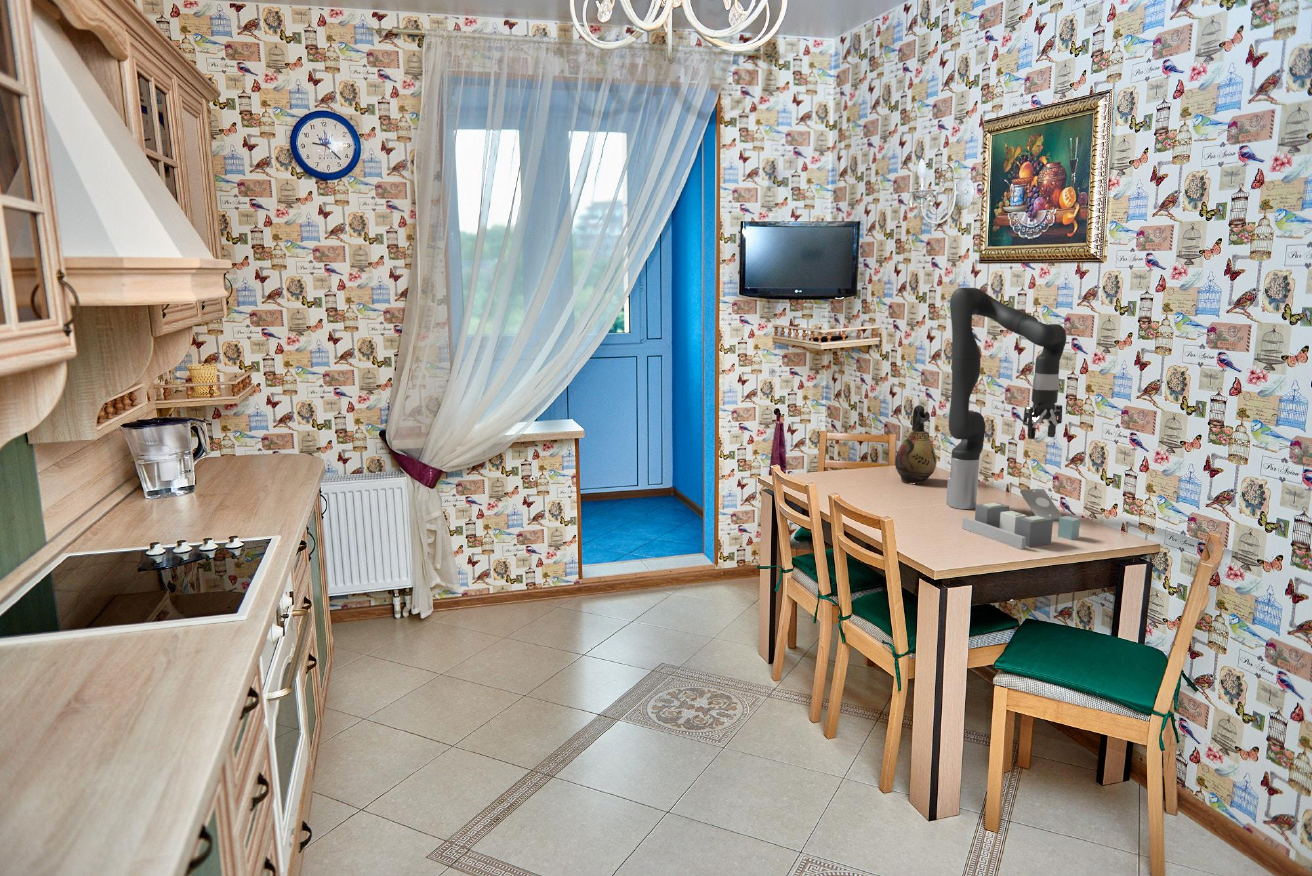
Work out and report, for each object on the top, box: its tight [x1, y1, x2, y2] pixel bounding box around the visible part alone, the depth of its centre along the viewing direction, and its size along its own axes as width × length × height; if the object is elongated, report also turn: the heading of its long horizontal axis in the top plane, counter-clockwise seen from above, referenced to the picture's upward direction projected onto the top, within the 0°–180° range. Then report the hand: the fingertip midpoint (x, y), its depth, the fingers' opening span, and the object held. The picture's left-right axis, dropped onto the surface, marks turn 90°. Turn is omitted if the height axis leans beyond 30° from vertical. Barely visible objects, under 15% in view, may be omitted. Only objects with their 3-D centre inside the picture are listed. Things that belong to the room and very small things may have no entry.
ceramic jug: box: [894, 404, 937, 485], centre depth 343 cm, size 17×15×30 cm
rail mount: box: [961, 502, 1054, 550], centre depth 271 cm, size 24×13×8 cm, turn 24°
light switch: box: [1019, 488, 1064, 522], centre depth 296 cm, size 8×6×14 cm
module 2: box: [1057, 515, 1081, 541], centre depth 270 cm, size 4×4×6 cm
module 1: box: [999, 510, 1028, 534], centre depth 272 cm, size 6×4×7 cm
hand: (1041, 438), depth 282 cm, fingers open, 8 cm apart
